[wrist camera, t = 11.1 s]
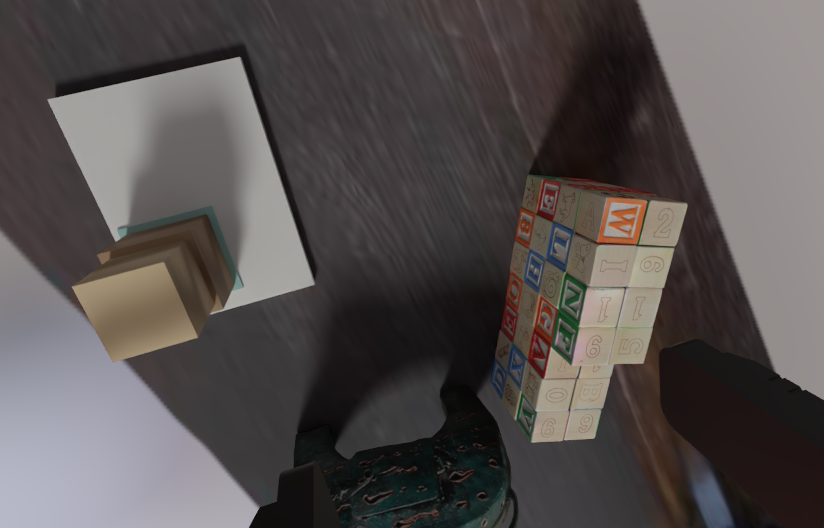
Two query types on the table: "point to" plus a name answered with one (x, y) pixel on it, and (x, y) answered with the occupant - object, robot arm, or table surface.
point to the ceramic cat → (421, 473)
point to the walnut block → (201, 246)
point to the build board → (191, 169)
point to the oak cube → (146, 300)
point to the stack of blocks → (579, 299)
